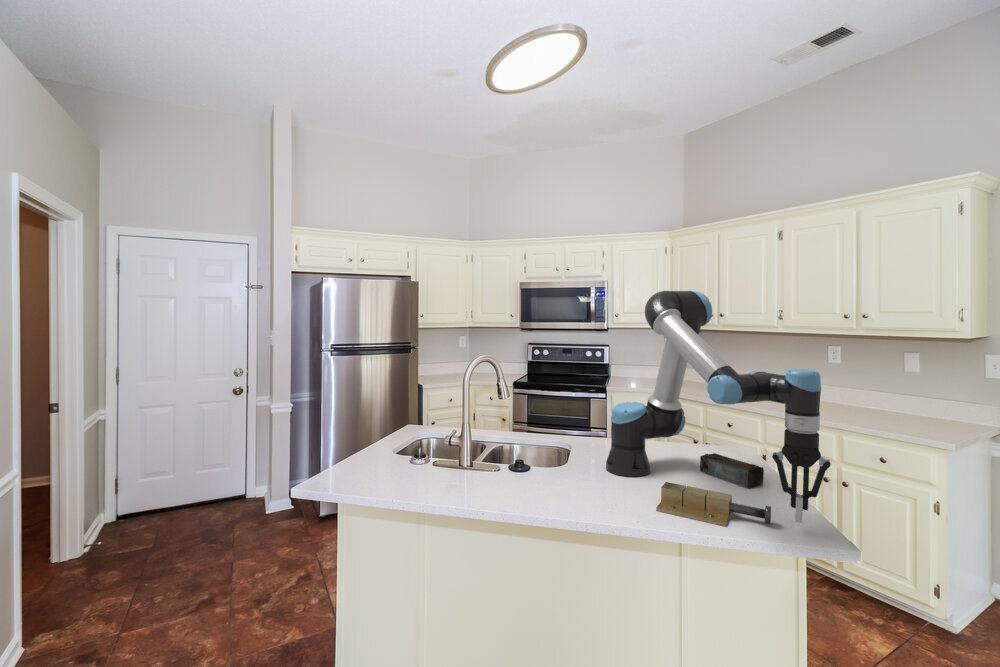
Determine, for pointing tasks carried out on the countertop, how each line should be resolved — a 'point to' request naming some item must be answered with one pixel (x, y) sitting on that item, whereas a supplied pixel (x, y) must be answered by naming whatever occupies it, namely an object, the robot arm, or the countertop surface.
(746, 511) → the hinge pin
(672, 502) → the hinge
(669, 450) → the countertop surface
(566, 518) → the countertop surface
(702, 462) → the dark brown rectangular block
